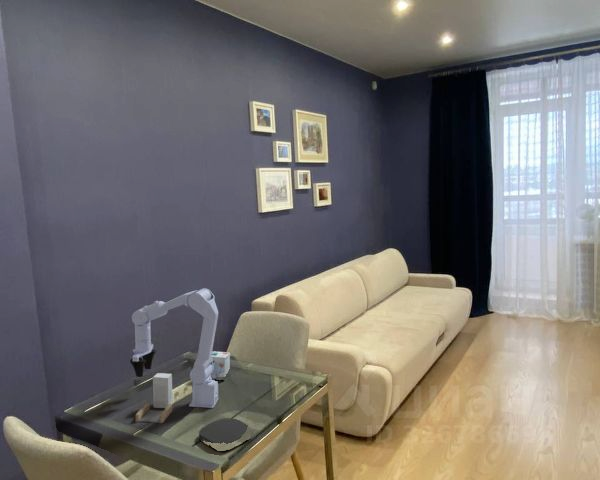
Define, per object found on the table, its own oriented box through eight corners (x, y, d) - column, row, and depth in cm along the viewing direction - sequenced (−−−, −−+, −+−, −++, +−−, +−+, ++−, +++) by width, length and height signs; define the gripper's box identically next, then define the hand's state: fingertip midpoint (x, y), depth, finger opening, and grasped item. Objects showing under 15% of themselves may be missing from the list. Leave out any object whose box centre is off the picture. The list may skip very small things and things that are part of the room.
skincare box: (172, 403, 169) (172, 373, 168) (168, 408, 164) (168, 378, 163) (157, 402, 169) (157, 372, 168) (152, 407, 165) (152, 377, 164)
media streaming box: (256, 437, 146) (256, 428, 146) (221, 456, 136) (221, 446, 135) (228, 421, 156) (228, 413, 156) (194, 438, 145) (194, 429, 145)
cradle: (172, 410, 163) (172, 404, 163) (162, 423, 154) (162, 416, 154) (146, 409, 164) (146, 402, 164) (135, 421, 155) (135, 414, 155)
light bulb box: (201, 379, 191) (201, 355, 190) (207, 373, 198) (207, 350, 197) (225, 381, 190) (225, 357, 188) (230, 375, 196) (230, 352, 195)
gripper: (141, 333, 179) (141, 365, 180) (124, 344, 164) (125, 379, 166) (157, 333, 178) (158, 365, 180) (142, 345, 164) (143, 380, 165)
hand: (143, 372), depth 173 cm, fingers open, 7 cm apart
